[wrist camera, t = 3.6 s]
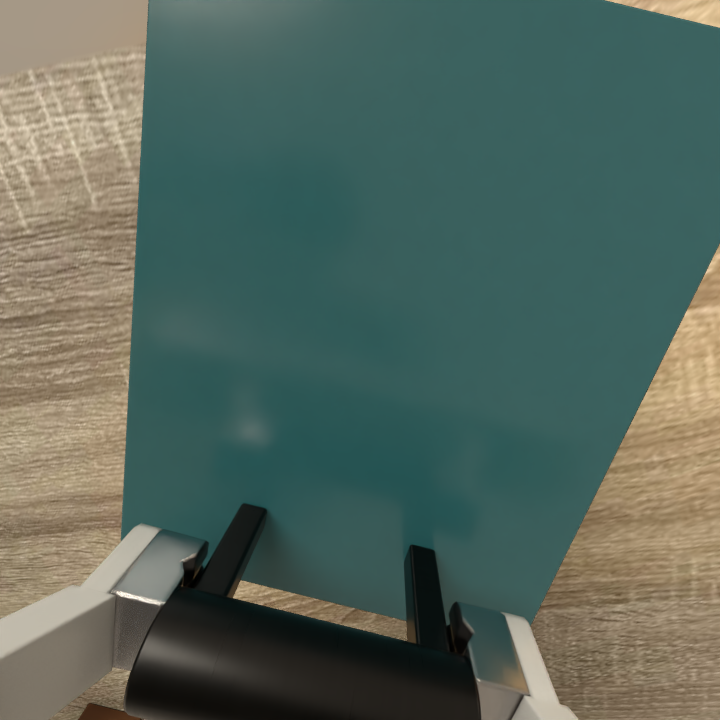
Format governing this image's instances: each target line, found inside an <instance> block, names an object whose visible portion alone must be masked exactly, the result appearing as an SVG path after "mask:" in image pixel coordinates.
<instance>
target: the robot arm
mask: <svg viewBox="0 0 720 720" xmlns="http://www.w3.org/2000/svg"><path fill="white" fill-rule="evenodd" d="M208 547H209V542H208V541H206V540H203V539H199V538H195V537H192V536H188V535H184V534H181V533H177V532H174V531H170V530H166V529H161V528H157V527H154V526H150V525H146V524H143V523H141V524H139V525H138V526H136V527H134V528H133V529H132V530H131V531H130V532H129V533H128V534H127V536H126V537H125V538H124V539H123V540H122V541H121V542H120V543H119V544H118V545H117V546H116V547H115V549H114V550H113V551H112V552H111V553H110V554H109V555H108V556H107V557H106V558H105V559H104V561H103V562H102V563H101V564H100V565H99V566H98V567H97V568H96V569H95V570H94V571H93V572H92V574H91V575H90V576H89V577H88V578H87V579H86V580H85V581H84V582H83V583H82V584H81V586H77V585H70V586H68V587H66V588H64V589H62V590H60V591H58V592H56V593H54V594H51V595H49V596H47V597H45V598H43V599H41V600H39V601H37V602H35V603H33V604H30V605H28V606H26V607H24V608H22V609H20V610H18V611H16V612H14V613H12V614H9V615H7V616H5V617H3V618H1V619H0V720H49V719H50V718H51V717H53V716H54V715H55V714H57V713H58V712H59V711H60V710H62V709H63V708H64V707H66V706H67V705H68V704H69V703H71V702H72V701H73V700H74V699H76V698H77V697H78V696H80V695H81V694H82V693H83V692H85V691H86V690H87V689H89V688H90V687H91V686H92V685H94V684H95V683H96V682H97V681H99V680H100V679H101V678H103V677H104V676H105V675H106V674H108V673H109V672H110V671H112V667H115V668H120V669H125V670H130V671H131V670H132V667H133V664H134V661H135V659H136V656H137V653H138V651H139V649H140V646H141V644H142V642H143V640H144V638H145V635H146V633H147V631H148V629H149V627H150V626H151V624H152V622H153V620H154V618H155V616H156V615H157V613H158V612H159V610H160V608H161V607H162V606H163V605H164V604H165V603H166V601H167V600H168V599H169V597H170V596H171V595H172V594H173V593H174V592H175V591H176V590H177V589H178V588H180V587H189V588H193V587H194V586H195V584H196V582H197V580H198V579H199V577H200V575H201V573H202V572H203V570H204V567H203V565H202V563H203V562H204V560H205V558H206V557H207V555H208ZM448 614H449V620H450V624H449V625H447V632H448V638H449V645H450V651H451V652H452V653H456V654H460V655H463V656H464V657H465V658H466V659H467V660H468V662H469V663H470V665H471V667H472V670H473V673H474V676H475V679H476V682H477V685H478V691H479V697H480V706H481V720H579V719H578V718H577V717H576V715H575V714H574V713H573V712H572V711H571V710H570V708H569V707H568V706H565V705H562V704H560V703H559V700H558V698H557V695H556V692H555V690H554V687H553V685H552V682H551V679H550V677H549V674H548V672H547V669H546V667H545V664H544V661H543V659H542V656H541V654H540V651H539V648H538V646H537V643H536V641H535V638H534V636H533V633H532V630H531V628H530V625H529V623H528V621H527V620H526V619H525V618H524V617H521V616H517V615H513V614H509V613H504V612H499V611H496V610H492V609H488V608H483V607H479V606H475V605H471V604H466V603H462V602H458V601H455V602H454V603H453V604H452V606H451V608H450V611H449V613H448Z"/></svg>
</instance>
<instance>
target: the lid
mask: <svg viewBox="0 0 720 720" xmlns="http://www.w3.org/2000/svg"><path fill="white" fill-rule="evenodd" d="M719 244H720V28H718V27H714V26H709V25H705V24H701V23H697V22H693V21H689V20H684V19H680V18H676V17H672V16H668V15H664V14H659V13H655V12H651V11H647V10H643V9H639V8H634V7H630V6H626V5H622V4H618V3H614V2H610V1H605V0H149V4H148V22H147V42H146V61H145V81H144V100H143V119H142V139H141V158H140V178H139V197H138V216H137V236H136V255H135V275H134V294H133V313H132V333H131V352H130V371H129V391H128V410H127V430H126V449H125V468H124V488H123V507H122V527H121V541H122V540H123V539H124V538H125V537H126V536H127V534H128V533H129V532H130V531H131V530H132V529H133V528H134V527H136V526H138V525H139V524H141V523H143V524H146V525H150V526H154V527H157V528H161V529H166V530H170V531H174V532H177V533H181V534H184V535H188V536H192V537H195V538H199V539H203V540H206V541H208V542H209V547H208V555H207V557H206V558H205V560H204V562H203V563H202V565H203V567H204V570H203V572H202V573H201V575H200V577H199V579H198V580H197V582H196V584H195V586H194V587H193V588H189V587H180V588H178V589H177V590H176V591H175V592H174V593H173V594H172V595H171V596H170V597H169V599H168V600H167V601H166V603H165V604H164V605H163V606H162V607H161V608H160V610H159V612H158V613H157V615H156V616H155V618H154V620H153V622H152V624H151V626H150V627H149V629H148V631H147V633H146V635H145V638H144V640H143V642H142V644H141V646H140V649H139V651H138V653H137V656H136V659H135V661H134V664H133V667H132V670H131V672H130V676H129V679H128V683H127V687H126V691H125V696H124V710H125V712H126V713H127V714H128V715H130V716H134V717H138V718H142V719H146V720H481V706H480V697H479V691H478V685H477V682H476V679H475V676H474V673H473V670H472V667H471V665H470V663H469V662H468V660H467V659H466V658H465V657H464V656H463V655H460V654H456V653H452V652H451V651H450V645H449V638H448V632H447V625H449V624H450V620H449V614H448V613H449V611H450V608H451V606H452V604H453V603H454V602H455V601H458V602H462V603H466V604H471V605H475V606H479V607H483V608H488V609H492V610H496V611H499V612H504V613H509V614H513V615H517V616H521V617H524V618H525V619H526V620H527V621H528V623H529V625H530V626H531V624H532V622H533V620H534V618H535V616H536V614H537V612H538V610H539V608H540V606H541V604H542V602H543V600H544V598H545V596H546V594H547V592H548V590H549V588H550V586H551V584H552V582H553V580H554V578H555V576H556V573H557V571H558V569H559V567H560V565H561V563H562V561H563V559H564V557H565V555H566V553H567V551H568V549H569V547H570V545H571V543H572V541H573V539H574V537H575V535H576V533H577V531H578V529H579V527H580V525H581V523H582V521H583V519H584V517H585V515H586V513H587V511H588V509H589V507H590V505H591V503H592V501H593V499H594V497H595V495H596V493H597V491H598V489H599V487H600V485H601V483H602V481H603V479H604V477H605V475H606V473H607V470H608V468H609V466H610V464H611V462H612V460H613V458H614V456H615V454H616V452H617V450H618V448H619V446H620V444H621V442H622V440H623V438H624V436H625V434H626V432H627V430H628V428H629V426H630V424H631V422H632V420H633V418H634V416H635V414H636V412H637V410H638V408H639V406H640V404H641V402H642V400H643V398H644V396H645V394H646V392H647V390H648V388H649V386H650V384H651V382H652V380H653V378H654V376H655V374H656V372H657V370H658V367H659V365H660V363H661V361H662V359H663V357H664V355H665V353H666V351H667V349H668V347H669V345H670V343H671V341H672V339H673V337H674V335H675V333H676V331H677V329H678V327H679V325H680V323H681V321H682V319H683V317H684V315H685V313H686V311H687V309H688V307H689V305H690V303H691V301H692V299H693V297H694V295H695V293H696V291H697V289H698V287H699V285H700V283H701V281H702V279H703V277H704V275H705V273H706V271H707V269H708V267H709V264H710V262H711V260H712V258H713V256H714V254H715V252H716V250H717V248H718V246H719ZM240 580H242V581H246V582H251V583H255V584H259V585H263V586H267V587H271V588H275V589H279V590H283V591H287V592H291V593H295V594H299V595H303V596H307V597H311V598H315V599H319V600H323V601H328V602H332V603H336V604H340V605H344V606H348V607H352V608H356V609H360V610H364V611H368V612H372V613H376V614H380V615H384V616H388V617H392V618H396V619H400V620H405V621H407V640H408V641H404V640H400V639H396V638H392V637H388V636H384V635H379V634H375V633H371V632H367V631H363V630H359V629H355V628H351V627H347V626H343V625H339V624H335V623H331V622H327V621H323V620H319V619H315V618H311V617H307V616H303V615H298V614H294V613H290V612H286V611H282V610H278V609H274V608H270V607H266V606H262V605H258V604H254V603H250V602H246V601H242V600H238V599H234V598H233V596H234V594H235V591H236V589H237V587H238V585H239V582H240Z"/></svg>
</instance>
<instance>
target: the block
mask: <svg viewBox="0 0 720 720" xmlns="http://www.w3.org/2000/svg"><path fill="white" fill-rule="evenodd" d="M78 720H141V718H138V717H134V716H130V715H128V714H127V713H126V712H123V711H119V710H115V709H111V708H107V707H103V706H99V705H94V704H90V703H89V704H88V706H87V707H86V709H85V710H84V712H83V713H82V715H81V716H80V718H79V719H78Z"/></svg>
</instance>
